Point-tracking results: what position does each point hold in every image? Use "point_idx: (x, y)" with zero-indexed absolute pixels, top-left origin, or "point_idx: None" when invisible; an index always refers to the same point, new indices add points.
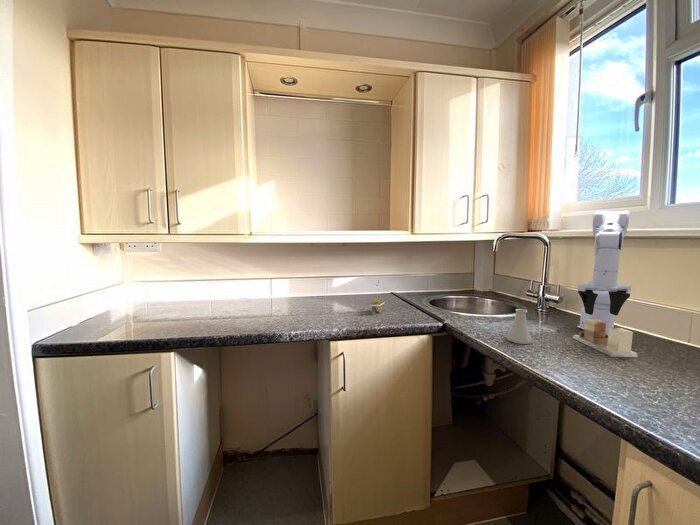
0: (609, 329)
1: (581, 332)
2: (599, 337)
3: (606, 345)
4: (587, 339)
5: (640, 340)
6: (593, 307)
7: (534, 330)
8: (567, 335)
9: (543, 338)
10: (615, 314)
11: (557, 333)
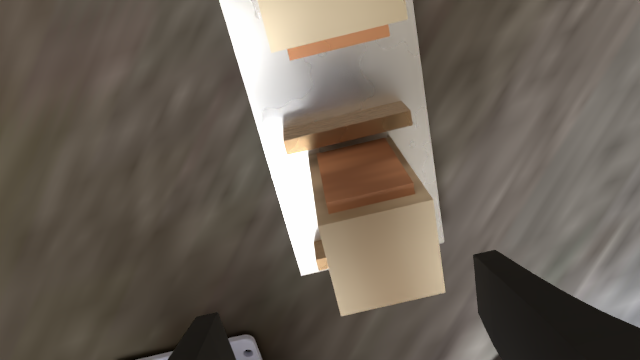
0: (401, 10)
1: None
2: (356, 147)
3: (340, 65)
4: None
5: (21, 322)
6: (526, 296)
7: None
8: None
9: (634, 172)
10: (216, 321)
11: None
